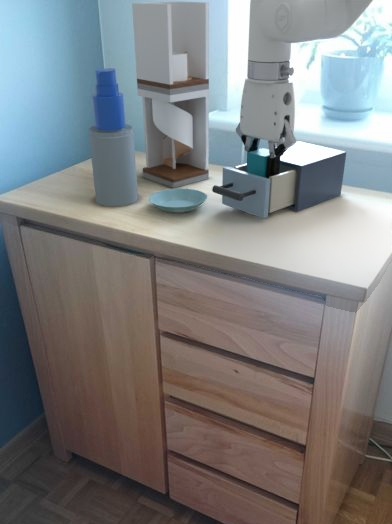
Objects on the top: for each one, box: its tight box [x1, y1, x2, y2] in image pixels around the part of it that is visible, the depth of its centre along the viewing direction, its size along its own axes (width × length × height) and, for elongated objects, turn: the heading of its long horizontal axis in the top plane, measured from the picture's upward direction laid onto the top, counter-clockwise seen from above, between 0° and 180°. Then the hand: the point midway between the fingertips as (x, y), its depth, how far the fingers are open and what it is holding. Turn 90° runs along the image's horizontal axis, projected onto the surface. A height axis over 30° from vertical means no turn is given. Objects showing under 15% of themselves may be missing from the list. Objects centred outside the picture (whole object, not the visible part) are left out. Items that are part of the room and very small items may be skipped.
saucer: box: [148, 188, 208, 214], centre depth 114 cm, size 12×12×2 cm
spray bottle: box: [88, 67, 139, 208], centre depth 112 cm, size 9×9×25 cm
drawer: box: [211, 162, 298, 219], centre depth 110 cm, size 18×11×7 cm, turn 132°
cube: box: [246, 147, 270, 178], centre depth 108 cm, size 4×4×4 cm
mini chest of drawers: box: [267, 140, 347, 213], centre depth 117 cm, size 15×13×9 cm
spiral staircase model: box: [131, 0, 210, 189], centre depth 122 cm, size 11×11×35 cm
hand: (262, 173), depth 109 cm, fingers closed on cube, 4 cm apart
